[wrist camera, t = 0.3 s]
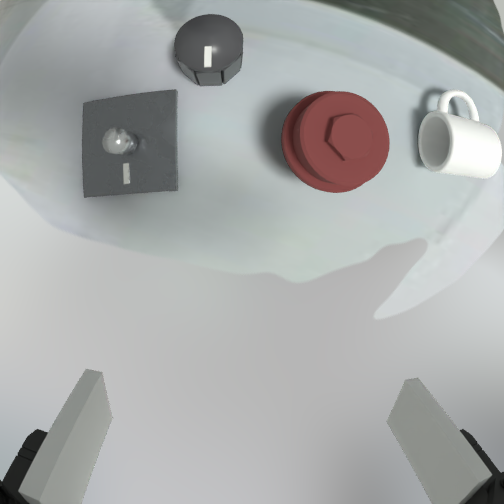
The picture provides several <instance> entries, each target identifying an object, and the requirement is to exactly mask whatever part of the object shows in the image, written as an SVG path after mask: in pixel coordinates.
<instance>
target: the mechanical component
mask: <svg viewBox="0 0 504 504" xmlns="http://www.w3.org/2000/svg"><path fill="white" fill-rule="evenodd" d="M281 143H282V150H283V153H284V157H285V159H286V161H287V163H288V165H289V167H290V168H291V170H292V171H293V172H294V174H295V175H296V176H297V177H298V178H299V179H300V180H301V181H303V182H304V183H306V184H307V185H309V186H311V187H313V188H315V189H318V190H321V191H326V192H333V193H340V192H347V191H350V190H353V189H356V188H357V187H359V186H361V185H362V184H364V183H365V182H367V181H369V180H370V179H372V178H373V177H374V176H376V175H377V174H378V173H379V171H380V170H381V169H382V167H383V166H384V164H385V162H386V159H387V156H388V152H389V134H388V129H387V126H386V124H385V121H384V119H383V117H382V116H381V114H380V113H379V111H378V110H377V109H376V108H375V107H374V106H373V105H372V104H371V103H370V102H369V101H367V100H366V99H364V98H363V97H361V96H359V95H356V94H353V93H349V92H340V91H338V92H335V91H323V92H317V93H314V94H311V95H309V96H307V97H305V98H304V99H302V100H301V101H300V102H299V103H297V104H296V105H295V106H294V107H293V109H292V110H291V111H290V112H289V114H288V115H287V117H286V120H285V122H284V125H283V128H282V135H281Z"/></svg>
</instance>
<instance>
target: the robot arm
mask: <svg viewBox="0 0 504 504" xmlns="http://www.w3.org/2000/svg"><path fill="white" fill-rule="evenodd" d="M112 418H113V417H112V413H111V409H110V405H109V401H108V397H107V392H106V388H105V383H104V379H103V375H102V372H98V371H94V370H89V369H86V370H85V371H84V373H83V375H82V376H81V378H80V379H79V381H78V383H77V384H76V386H75V388H74V389H73V391H72V393H71V394H70V396H69V398H68V399H67V401H66V403H65V404H64V406H63V408H62V410H61V411H60V413H59V415H58V416H57V418H56V420H55V422H54V423H53V425H52V427H51V429H50V430H49V432H48V433H47V432H44V431H42V430H39V429H37V430H35V431H34V432H33V433H31V434H30V435H29V436H28V437H27V438H26V440H25V442H24V443H23V445H22V448H21V449H20V450H19V452H18V456H16V457H15V459H14V461H13V463H12V464H11V466H10V468H9V470H8V472H7V474H6V475H5V477H4V479H3V481H1V480H0V504H82V500H83V498H84V495H85V491H86V489H87V486H88V483H89V480H90V477H91V474H92V471H93V468H94V466H95V463H96V460H97V458H98V455H99V452H100V449H101V446H102V444H103V442H104V439H105V436H106V434H107V431H108V429H109V426H110V423H111V421H112ZM387 423H388V425H389V427H390V428H391V430H392V432H393V434H394V435H395V437H396V439H397V441H398V442H399V444H400V446H401V448H402V450H403V451H404V453H405V455H406V457H407V458H408V460H409V462H410V464H411V466H412V467H413V469H414V471H415V473H416V475H417V477H418V479H419V480H420V482H421V484H422V486H423V488H424V490H425V491H426V493H427V495H428V497H429V499H430V501H431V503H432V504H504V472H502V473H501V472H500V471H499V470H498V469H497V468H496V466H495V465H494V464H493V462H492V461H491V460H490V458H489V457H488V456H487V454H486V453H485V452H484V451H483V450H482V448H481V446H480V445H479V444H477V441H476V440H475V439H474V438H473V436H472V435H471V434H469V433H468V432H466V431H465V430H464V429H462V430H459V429H458V428H457V426H456V425H455V424H454V423H453V421H452V420H451V419H450V417H449V416H448V415H447V414H446V412H445V411H444V410H443V408H442V407H441V406H440V405H439V404H438V402H437V401H436V400H435V399H434V397H433V396H432V395H431V394H430V392H429V391H428V390H427V389H426V387H425V386H424V385H423V383H422V382H421V381H420V380H419V379H418V378H414V379H408V380H405V382H404V384H403V386H402V389H401V391H400V393H399V396H398V398H397V400H396V402H395V405H394V407H393V409H392V411H391V413H390V415H389V418H388V420H387Z"/></svg>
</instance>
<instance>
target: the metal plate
mask: <svg viewBox="0 0 504 504" xmlns="http://www.w3.org/2000/svg"><path fill="white" fill-rule="evenodd" d="M177 93H178V92H177V90H166V91H156V92H148V93H140V94H133V95H126V96H119V97H113V98H107V99H102V100H97V101H92V102H87V103H84V104H83V130H82V163H83V189H84V198H86V197H96V196H107V195H119V194H132V193H146V192H162V191H177V190H178V170H177Z"/></svg>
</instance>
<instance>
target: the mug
mask: <svg viewBox="0 0 504 504" xmlns="http://www.w3.org/2000/svg"><path fill="white" fill-rule="evenodd" d="M452 97H459V98H461V99H462V100H464V101H465V103H466V105H467V107H468V111H469V117H470V119H466V118H463V117H459V116H456V115H452V114H449V113H448V104H449V100H450V99H451V98H452ZM418 148H419V153H420V157H421V159H422V161H423V163H424V165H425V166H426V167H427V168H428V169H429V170H430V171H432V172H436V173H444V174H452V175H459V176H467V177H473V178H480V179H487V178H490V177H492V176H493V175H494V174H495V173H496V171H497V170H498V168H499V166H500V163H501V157H502V148H501V143H500V140H499V137H498V135H497V133H496V132H495V131H494V129H493V128H491V127H490V126H488V125H486V124H483V123H480V122H479V116H478V112H477V109H476V106H475V104H474V102H473V101H472V99H471V98H470V97H469V96H468V95H467V94H466V93H465V92H463V91H460V90H448V91H445V92H444V93H443V94H442V95H441V96H440V98H439V100H438V104H437V111H432V112H430V113H428V114H427V115H426V116H425V118H424V119H423V121H422V123H421V125H420V129H419V134H418Z"/></svg>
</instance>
